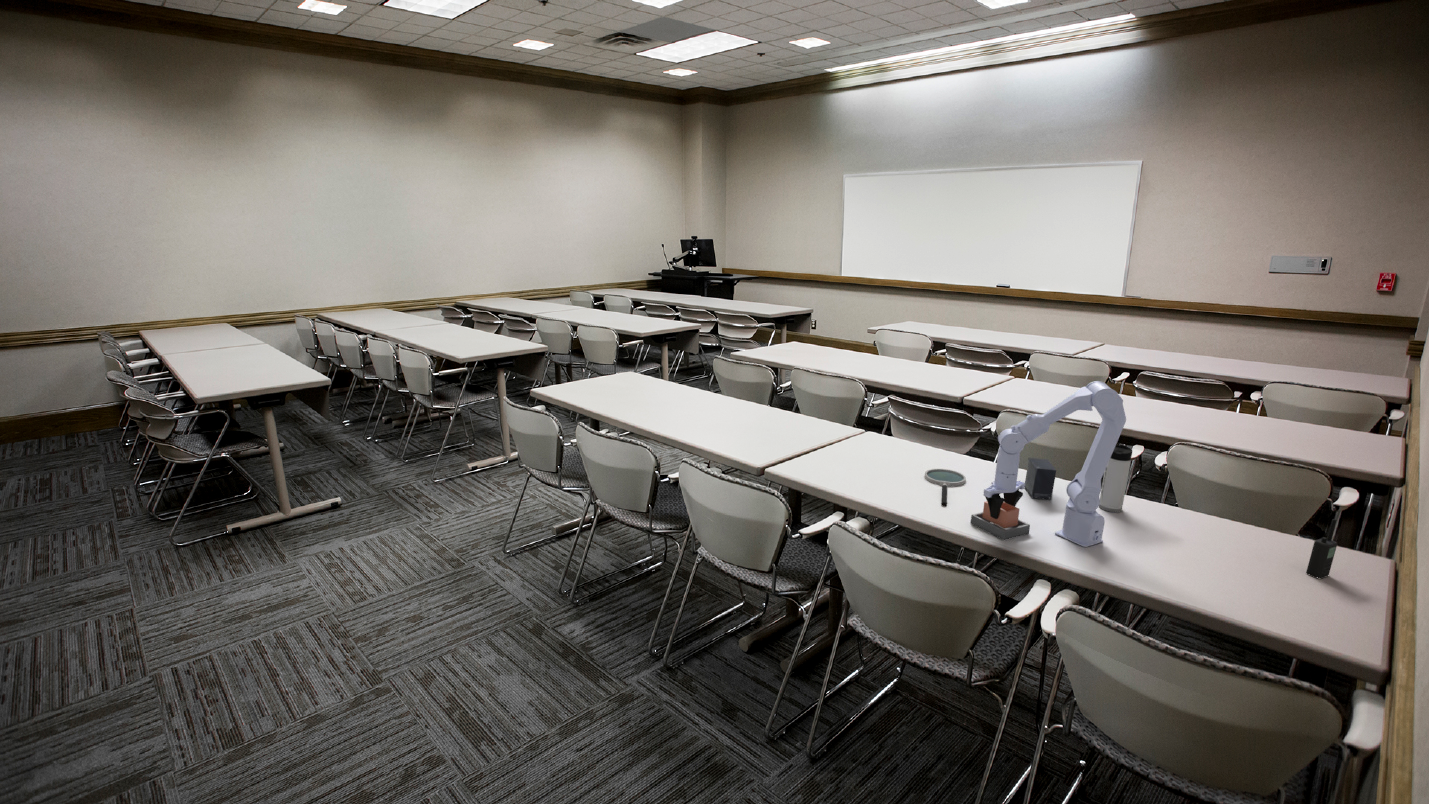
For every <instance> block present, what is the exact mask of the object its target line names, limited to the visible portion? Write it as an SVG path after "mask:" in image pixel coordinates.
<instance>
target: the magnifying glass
mask: <svg viewBox="0 0 1429 804" xmlns="http://www.w3.org/2000/svg"><path fill="white" fill-rule="evenodd" d="M924 479H925V480H926V479H927V482H930V483H932V484H936V485H938V484H940V485H939V486H941V506H942V505H943V507H947V506H948V505H947V504H948V487H958V486H963V485H964V484H966V476H965V475H964V474H963V473H961V472H959V471H956V470H953V469H947V468H932V469H928V470H926V471H925V473H924ZM962 484H963V485H962Z"/></svg>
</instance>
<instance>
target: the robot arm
mask: <svg viewBox="0 0 1429 804" xmlns="http://www.w3.org/2000/svg"><path fill="white" fill-rule="evenodd" d="M1123 403H1124V399H1122V397H1121V396H1120V394H1119V393H1118V392H1117V390H1115V389H1112V388H1111V387H1110V386H1109V385H1108V384H1107V383H1105V382H1104V381H1101V380H1095V381H1091V382H1089V383H1087V385H1086V386H1082V387H1080V388H1079V389H1077V391H1075V392H1074V393H1073V394H1071V395H1070V396H1068V397H1066V398H1064V399H1063V400H1062V401H1060V402H1059V403H1058V404H1056V405H1055V406H1053V407H1051V408H1050V409H1049V410H1047V411H1046V412H1044V413H1042V414H1039V413H1034V414H1028V415H1027V416H1026V417H1025V418H1026V419H1024V420H1022V421H1020V422H1019V423H1016V425H1014V424H1012V425H1011V426H1010V428H1006V429H1003V430H1002V431H1001V432H1000V433H999V435H998V436H997V441H998V443H999V448H998V454H997V457H996V458H997V459H996V467H995V474H994V480H993V481H991V484H990V485H989V486H988V487H985V488H983V494H982V495H983V496H984V497H985V501H987V502H988V505H989V510H990V516H991V517H992V518H994V519H998V517H999V514H1000V509H1001V506H1002V504H1003V502H1005V503H1008V504H1010V505H1012V506H1014V507H1017V504H1018V503H1019V501H1020V499H1021V498H1022V497H1024V492H1022V491H1020V490H1025V481H1021V480H1018V475H1019V474H1018V473H1019V466H1020V459H1021V458H1020V457H1021V456H1020V455H1021V452H1022V451H1023V450H1024V448H1025V445H1026V444H1029V443H1030V442H1032V441H1034V440H1035V439H1038V438H1039V437H1041V436H1042V435H1044V434H1046V433H1048V432H1049V430H1050V426H1051V425H1052V424H1054V423H1056V422H1058V421H1060V420H1061V419H1062V420H1063V418H1065V417H1067V416H1070V415H1072V414H1073V413H1074V412H1077V411H1088V412H1089V411H1090V412H1092V411H1093V407H1094V408H1095V410H1096V411H1097V413H1098V415H1099V416H1100V417H1101V422H1100V424H1099V427H1098V430H1097V432H1096V434H1095V437H1094V438H1093V442H1092V443H1091V445H1090V449H1089V450H1088V453H1087V455H1086V459H1085V460H1084V463H1083V464H1082V465H1083V466H1082V468H1081V470H1080V471H1079V472H1078V473H1076V474H1075V475H1074V478H1073V480H1071V481H1070V482H1069V483H1068V485H1067V486H1066V494H1067V496H1068V497H1069V498H1068V500H1067V501H1066V505H1065V510H1064V511H1065V512H1064V517H1063V523H1062V528H1061V529H1060V530H1056V531H1055V532H1054V534H1055V535H1057V536H1060V537H1061V538H1063V539H1066V540H1067V541H1070V542H1072V543H1075V544H1077V545H1079V546H1081V547H1084V548H1087V547H1090V546H1093V545H1096V544H1100V543H1103V541H1104V540H1103V533H1104V529H1105V521H1106V520H1105V517H1104V516H1103V515H1102V514H1100V513H1099V512H1098V511H1096V510H1097V509H1098V508H1099V504H1100V495H1101V489H1102V478H1103V477H1104V472H1105V469H1106V467H1107V464H1108V462H1109V460H1110V457H1111V455H1112V453H1113V450H1114V448H1115V446H1116V445H1117V443H1118V441H1119V438H1120V436H1121V434H1122V432H1123V429H1124V426H1125V424H1126V421H1127V416H1126V412H1125V408H1124V404H1123ZM1001 494H1003V497H1001Z"/></svg>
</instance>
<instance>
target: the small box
mask: <svg viewBox="0 0 1429 804" xmlns="http://www.w3.org/2000/svg"><path fill="white" fill-rule="evenodd" d="M1056 475H1057V469H1056V468H1055V466H1053V464H1052V463H1051V461H1050V460H1049V459H1046V458H1045V459H1044V458H1036V457H1035V458H1034V457H1028V459H1027V468H1026V473H1025V480H1024V483H1025V487H1024V490H1025V491H1026V492H1027V493H1028V496H1029V497H1030V498H1031V499H1038V500H1047V501H1052V499H1053V492H1054V487H1055V481H1056V480H1055V479H1056Z"/></svg>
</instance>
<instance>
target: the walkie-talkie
mask: <svg viewBox="0 0 1429 804" xmlns="http://www.w3.org/2000/svg"><path fill="white" fill-rule="evenodd" d="M1336 525H1337V519H1335V518H1333V519H1332V520H1331V523H1330V526H1329V531H1328V534H1327V537H1324V536H1323V537H1321V538H1319V539H1315V540H1314V542H1313V545H1312V548H1311V549H1312V550H1311V554H1310V557H1309V561H1308V564H1307V567H1306V573H1307V574H1306V573H1305V574H1306V575H1308V574H1310V575H1312V576H1311V577H1313V576H1314V577H1313V578H1315V577H1318V578H1321V579H1323V577H1324V578H1326V576H1327V577H1328V575H1329V576H1330V572H1331V568H1332V565H1333V561H1334V559H1335V558H1334V557H1335V554H1336V551H1337V548H1338V542H1337V541H1335V540H1332V539H1333V534H1334V532H1335V529H1336ZM1310 575H1309V576H1310ZM1318 578H1317V579H1318Z"/></svg>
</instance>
